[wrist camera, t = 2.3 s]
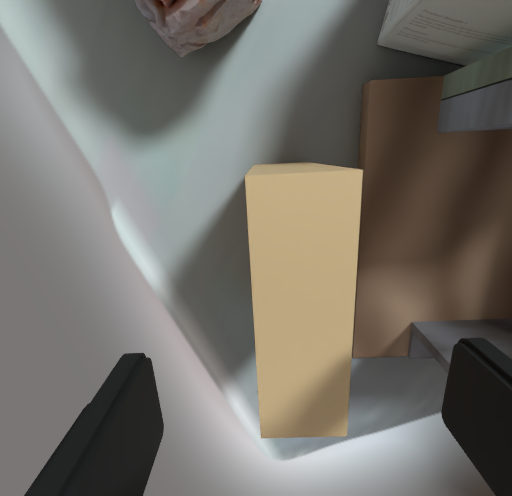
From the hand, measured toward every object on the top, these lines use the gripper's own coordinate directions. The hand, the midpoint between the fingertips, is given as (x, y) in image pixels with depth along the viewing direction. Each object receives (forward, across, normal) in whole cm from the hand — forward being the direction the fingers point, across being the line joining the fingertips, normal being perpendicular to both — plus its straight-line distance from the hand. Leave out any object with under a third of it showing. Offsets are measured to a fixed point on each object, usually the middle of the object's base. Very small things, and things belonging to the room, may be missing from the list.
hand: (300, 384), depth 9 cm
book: (+16, -1, 0) cm, 16 cm away
